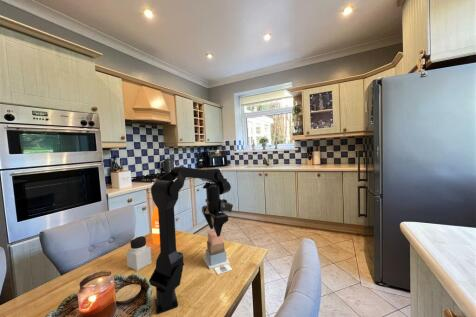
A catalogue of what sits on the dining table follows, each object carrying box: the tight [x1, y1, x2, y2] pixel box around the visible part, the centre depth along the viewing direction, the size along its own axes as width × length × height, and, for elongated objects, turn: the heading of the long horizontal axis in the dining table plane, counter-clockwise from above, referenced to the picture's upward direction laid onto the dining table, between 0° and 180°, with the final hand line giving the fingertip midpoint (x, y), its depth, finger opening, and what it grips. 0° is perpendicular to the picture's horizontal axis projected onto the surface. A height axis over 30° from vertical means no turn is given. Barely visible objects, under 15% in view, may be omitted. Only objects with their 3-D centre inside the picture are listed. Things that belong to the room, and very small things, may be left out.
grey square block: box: [203, 248, 231, 270], centre depth 89 cm, size 9×9×5 cm
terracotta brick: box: [207, 230, 224, 245], centre depth 89 cm, size 5×5×4 cm
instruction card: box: [213, 264, 233, 275], centre depth 83 cm, size 4×6×1 cm
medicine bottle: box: [126, 235, 153, 272], centre depth 89 cm, size 7×7×12 cm
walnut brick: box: [206, 240, 226, 256], centre depth 89 cm, size 6×6×4 cm
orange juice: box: [150, 204, 160, 246], centre depth 111 cm, size 8×9×20 cm
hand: (214, 232), depth 89 cm, fingers open, 9 cm apart
